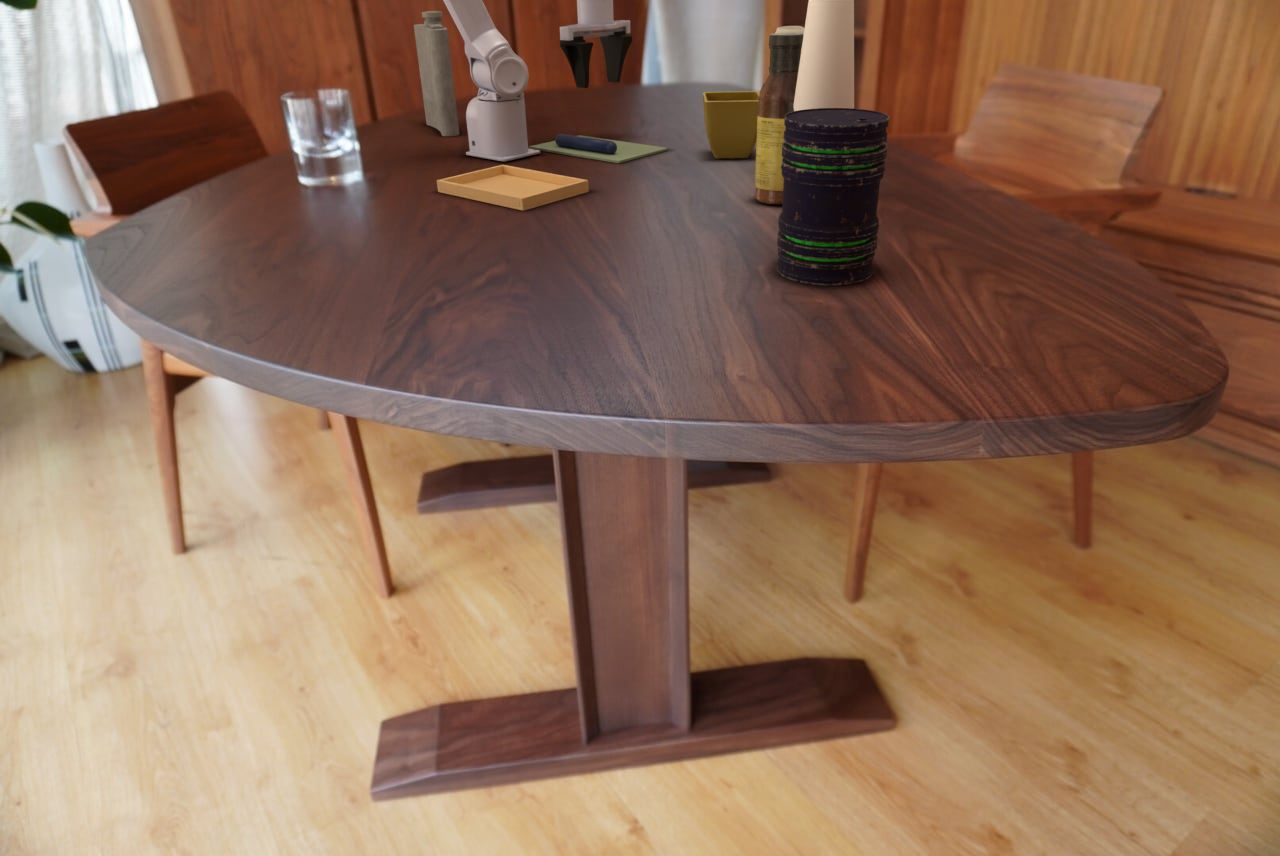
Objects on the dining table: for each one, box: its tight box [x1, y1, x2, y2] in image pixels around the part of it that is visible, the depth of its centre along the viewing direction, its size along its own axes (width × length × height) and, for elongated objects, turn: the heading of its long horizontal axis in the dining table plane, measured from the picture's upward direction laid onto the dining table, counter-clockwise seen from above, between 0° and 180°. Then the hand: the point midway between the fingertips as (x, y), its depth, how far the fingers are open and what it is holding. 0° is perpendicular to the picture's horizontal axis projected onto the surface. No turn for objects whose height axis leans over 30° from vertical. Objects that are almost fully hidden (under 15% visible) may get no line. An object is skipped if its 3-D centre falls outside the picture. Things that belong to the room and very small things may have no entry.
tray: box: [436, 164, 590, 212], centre depth 124 cm, size 17×12×2 cm
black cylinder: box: [776, 108, 890, 286], centre depth 88 cm, size 10×10×15 cm
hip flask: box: [413, 10, 460, 137], centre depth 164 cm, size 16×4×20 cm, turn 24°
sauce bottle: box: [754, 32, 803, 206], centre depth 112 cm, size 7×6×20 cm
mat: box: [528, 134, 669, 164], centre depth 149 cm, size 20×12×1 cm, turn 50°
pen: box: [554, 133, 617, 154], centre depth 146 cm, size 13×2×2 cm, turn 50°
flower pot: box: [702, 90, 760, 160], centre depth 140 cm, size 9×9×9 cm
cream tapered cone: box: [793, 0, 855, 111], centre depth 102 cm, size 7×7×24 cm
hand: (598, 84), depth 149 cm, fingers open, 7 cm apart
